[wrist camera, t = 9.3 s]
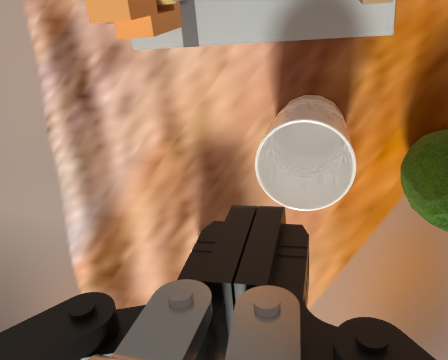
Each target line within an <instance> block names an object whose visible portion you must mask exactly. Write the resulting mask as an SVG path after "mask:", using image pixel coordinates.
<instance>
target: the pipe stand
mask: <svg viewBox="0 0 448 360" xmlns="http://www.w3.org/2000/svg"><path fill="white" fill-rule="evenodd" d="M177 1H179V2H180V10H181V19H182V27H180V28H178V29H175V30H172V31H169V32H166V33H163V34H161V35H158V36H155V37H146V38H131V39H132V45H133V50H142V49H160V48H177V47H196V46H211V45H228V44H245V43H262V42H279V41H296V40H314V39H331V38H348V37H365V36H382V35H393V29H394V16H395V3H396V0H156V4H157V5H166V4H175V3H176V2H177ZM112 23H114V22H106V24H112Z"/></svg>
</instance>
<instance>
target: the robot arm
mask: <svg viewBox="0 0 448 360" xmlns="http://www.w3.org/2000/svg"><path fill="white" fill-rule="evenodd" d="M308 286H309V235H308V233H307V232H306V230H305V229H304V227H303V225H294V224H286V219H285V207H273V206H259V207H258V206H239V205H232V207H231V209H230V211H229V213H228V216H227V218H226V220H225V222H221V221H214V222H212V223H211V224H210V225H208V226H207V227H206V228H205V229H203V230H202V232H201V234H200V236H199V238H198V240H197V243H196V244H195V245H194V247H193V249H192V252H191V253H190V255H189V257H188V259H187V261H186V263H185V265H184V267H183V269H182V271H181V273H180V275H179V277H178V279H177V280H176V281H172V282H170V283H167V284H165V285H163V286H162V287H160V288H159V289H158V290H157V291H156V292H155V293H154V294H153V295H152V297H151V298H150V300H149V301H148V303H147V304H146V305H143V306H137V307H130V308H124V309H117V310H116V307H115V303H114V300H113V299H112V298H111V297H110V296H109V295H107V294H104V293H100V292H90V293H84V294H80V295H77V296H75V297H72V298H70V299H68V300H66V301H64V302H62V303H60V304H58V305H56V306H54V307H52V308H50V309H48V310H46V311H44V312H42V313H39V314H38V315H35V316H33V317H31V318H29V319H27V320H25V321H23V322H21V323H19V324H17V325H15V326H13V327H11V328H9V329H7V330H5V331H2V332H1V333H0V360H436V359H435V358H433V357H432V356H431V355H430V354H428V353H427V352H426V351H425V350H424V349H422V348H421V347H420V346H419V345H417V344H416V343H415V342H414V341H413V340H412V339H410V338H409V337H408V336H407V335H406V334H404V333H403V332H402V331H401V330H400V329H398V328H397V327H395V326H394V325H392V324H390V323H388V322H386V321H383V320H380V319H376V318H370V317H358V318H353V319H350V320H347V321H345V322H344V323H342V324H341V325H340V326H339V327H336V326H333V325H330V324H328V323H325V322H323V321H321V320H320V319H318V318H316V317H315V316H314V315H313V314H312V313H311V312H309V310H308V309H307V299H308Z"/></svg>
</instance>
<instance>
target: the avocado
mask: <svg viewBox="0 0 448 360" xmlns="http://www.w3.org/2000/svg"><path fill="white" fill-rule="evenodd" d="M401 184H402V187H403V190H404V193H405V195H406V197H407V199H408V201H409V203H410V205H411V207H412V208H413V209H414V210H415V211H416V212H418V214H420V215H421V216H422V217H423V218H424V219H425V220H427V221H428V222H429V223H431V224H432V225H434V226H436V227H438V228H440V229H442V230H445V231H448V129H443V130H437V131H434V132H432V133H429V134H426V135H424V136H422V137H421V138H419V139H418V140H417V141H416V142H415V143H414V144H413V145H412V146H411V147H410V149H409V150H408V152H407V154H406V156H405V158H404V160H403V162H402V165H401Z"/></svg>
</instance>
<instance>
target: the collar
mask: <svg viewBox="0 0 448 360" xmlns="http://www.w3.org/2000/svg"><path fill="white" fill-rule="evenodd" d="M85 1H86V6H87V11H88V16H89V21H90V23H101V22H114V25H115V31H116V37H117V39H131V38H146V37H155V36H158V35H161V34H163V33H166V32H169V31H172V30H175V29H178V28H180V27H182V19H181V10H180V2H179V1H177V2H176V3H175V4H166V5H157V4H156V0H85Z"/></svg>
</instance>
